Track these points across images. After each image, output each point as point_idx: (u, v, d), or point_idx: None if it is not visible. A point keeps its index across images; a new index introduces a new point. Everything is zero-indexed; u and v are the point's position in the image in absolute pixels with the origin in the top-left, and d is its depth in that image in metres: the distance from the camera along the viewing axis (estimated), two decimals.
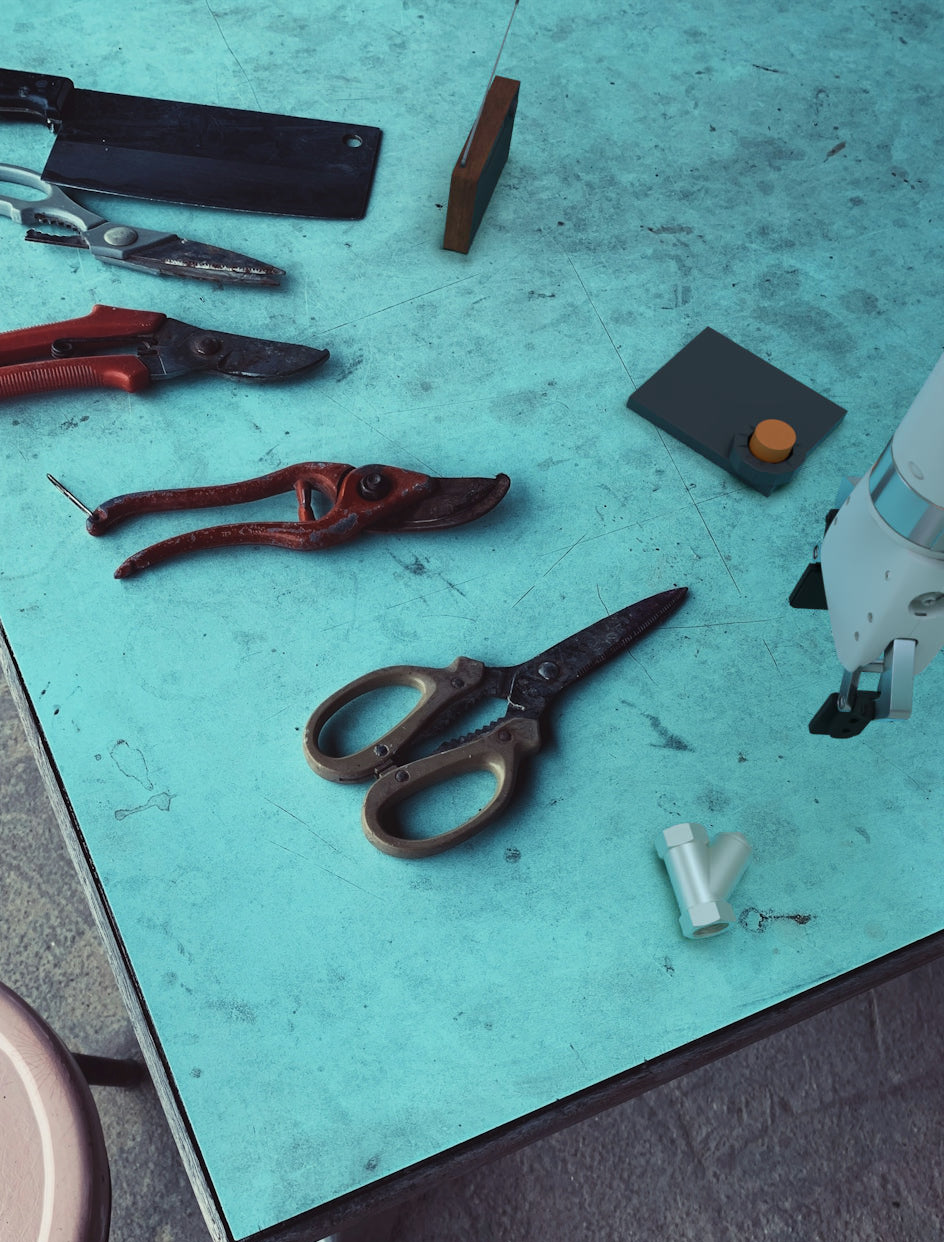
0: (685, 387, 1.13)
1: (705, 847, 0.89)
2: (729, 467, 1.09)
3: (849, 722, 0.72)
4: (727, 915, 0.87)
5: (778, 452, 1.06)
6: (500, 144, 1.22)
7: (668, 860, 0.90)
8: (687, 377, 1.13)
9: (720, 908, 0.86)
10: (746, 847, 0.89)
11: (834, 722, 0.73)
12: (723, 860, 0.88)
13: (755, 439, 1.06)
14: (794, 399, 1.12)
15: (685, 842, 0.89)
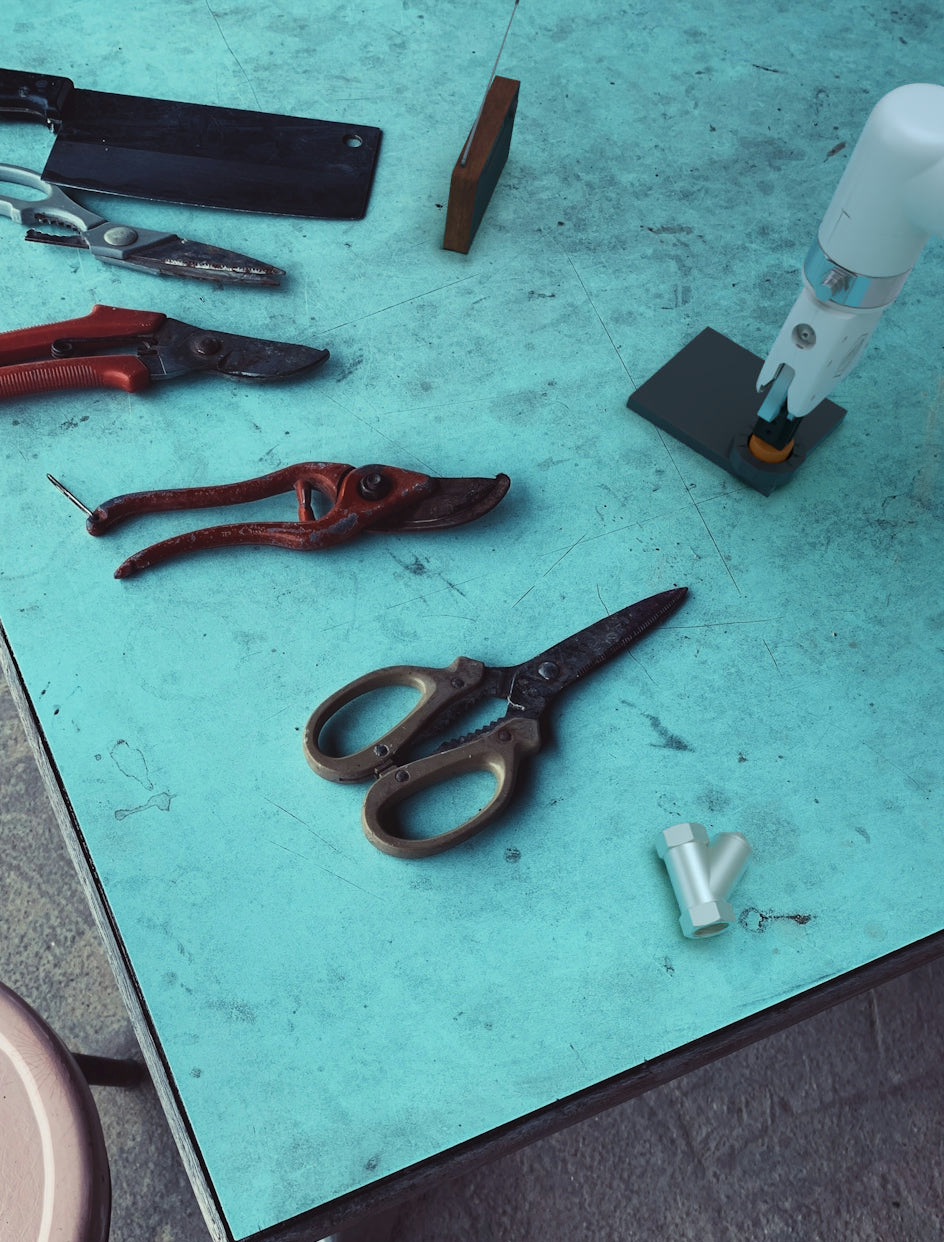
0: (685, 387, 1.13)
1: (705, 847, 0.89)
2: (729, 467, 1.09)
3: (771, 423, 1.04)
4: (727, 915, 0.87)
5: (776, 456, 1.06)
6: (500, 144, 1.22)
7: (668, 860, 0.90)
8: (687, 377, 1.13)
9: (720, 908, 0.86)
10: (746, 846, 0.89)
11: None
12: (723, 860, 0.88)
13: (753, 443, 1.07)
14: None
15: (685, 842, 0.89)
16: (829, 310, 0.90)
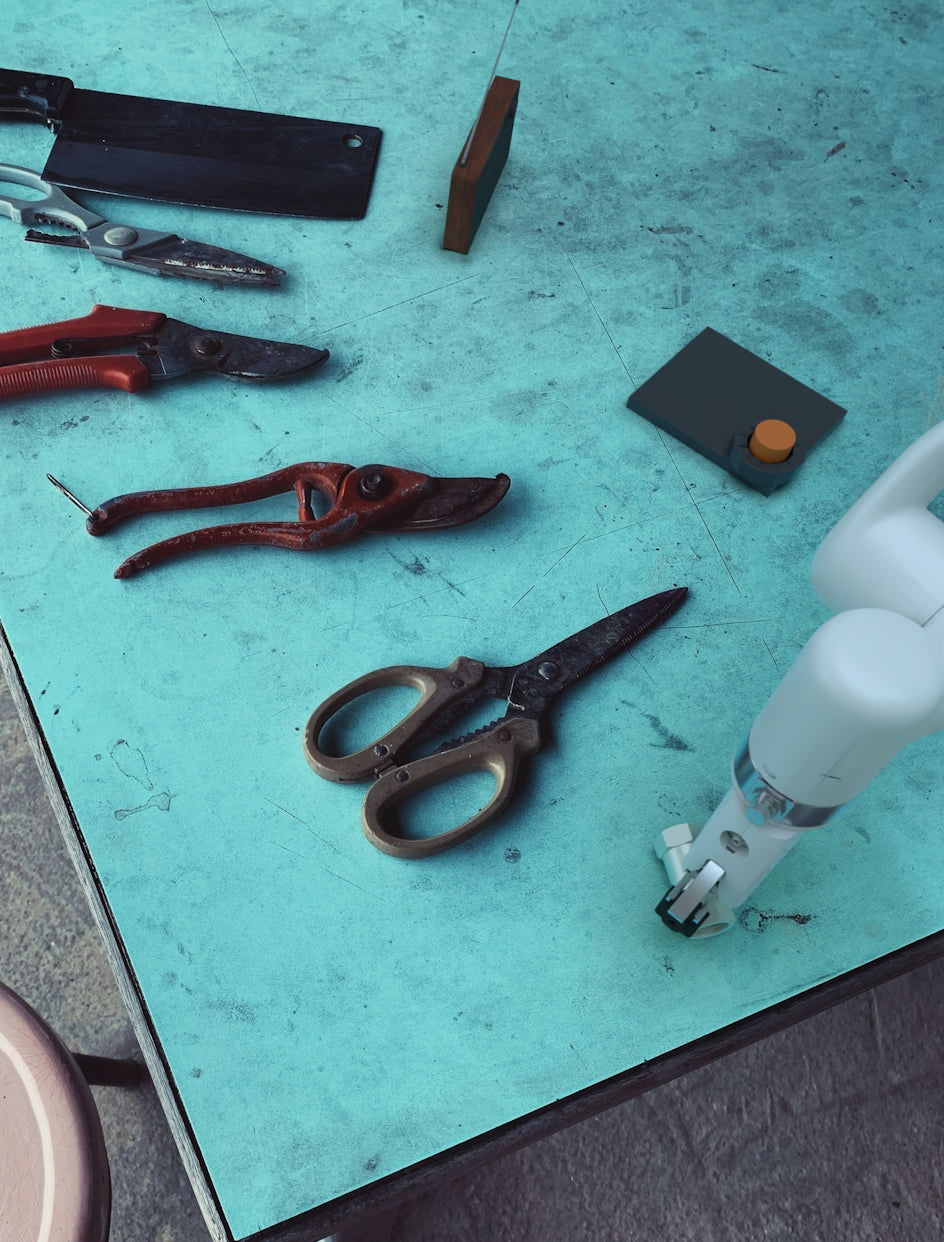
0: (685, 387, 1.13)
1: None
2: (729, 467, 1.09)
3: None
4: (727, 915, 0.87)
5: (778, 452, 1.06)
6: (500, 144, 1.22)
7: (667, 860, 0.90)
8: (687, 377, 1.13)
9: (720, 908, 0.86)
10: None
11: None
12: None
13: (755, 439, 1.06)
14: (794, 399, 1.12)
15: (684, 842, 0.89)
16: (764, 826, 0.73)
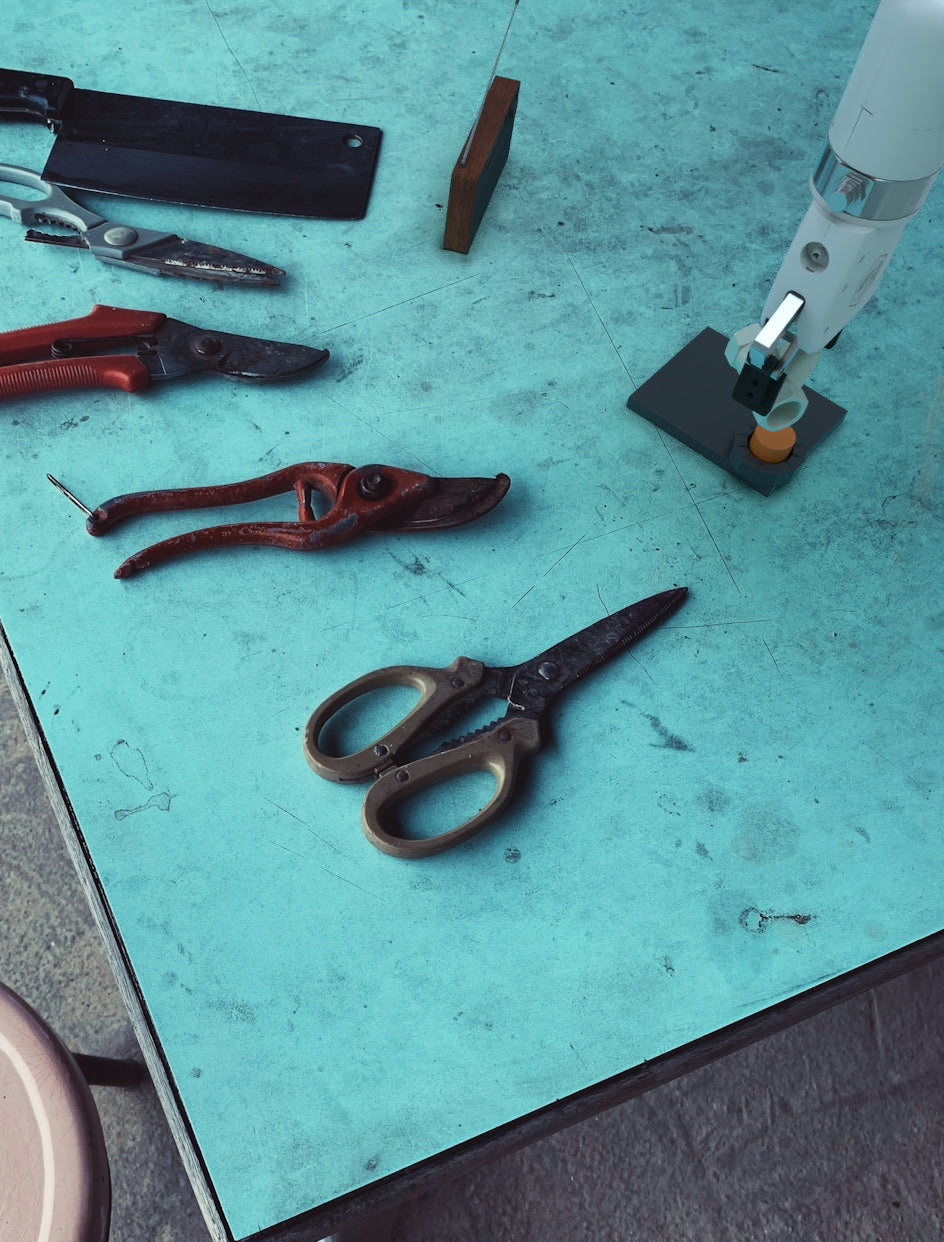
0: (685, 387, 1.13)
1: None
2: (729, 467, 1.09)
3: (753, 384, 0.89)
4: (800, 395, 0.91)
5: (778, 452, 1.06)
6: (500, 144, 1.22)
7: (740, 360, 0.94)
8: (687, 377, 1.13)
9: (793, 388, 0.91)
10: None
11: None
12: None
13: (755, 439, 1.06)
14: None
15: None
16: (843, 224, 0.78)
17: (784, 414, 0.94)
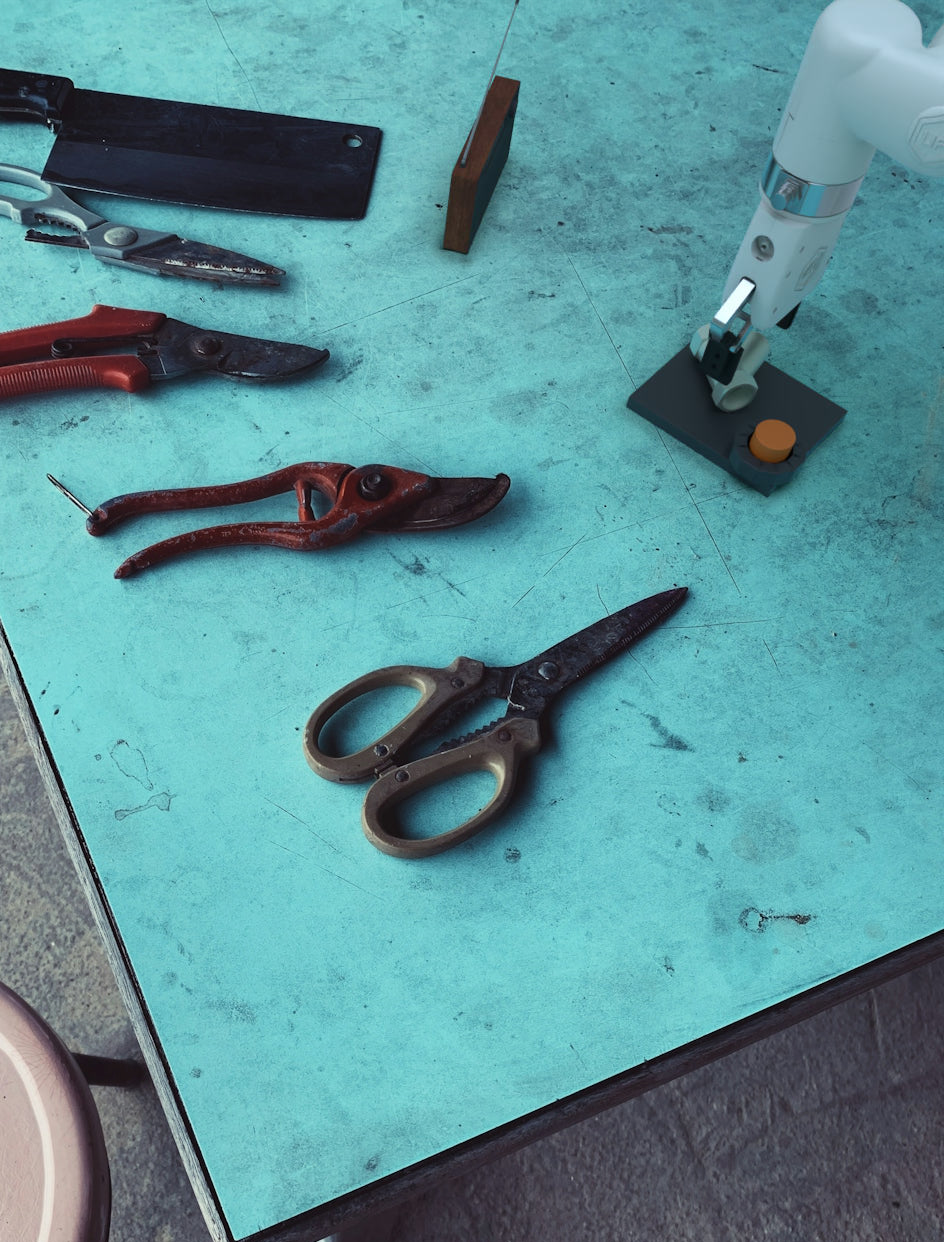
0: (685, 387, 1.13)
1: None
2: (729, 467, 1.09)
3: (715, 357, 1.05)
4: (750, 381, 1.09)
5: (778, 452, 1.06)
6: (500, 144, 1.22)
7: (702, 352, 1.12)
8: (687, 377, 1.13)
9: (745, 375, 1.09)
10: (764, 339, 1.12)
11: None
12: (746, 346, 1.11)
13: (755, 439, 1.06)
14: (794, 399, 1.12)
15: None
16: (785, 220, 0.94)
17: (738, 398, 1.11)
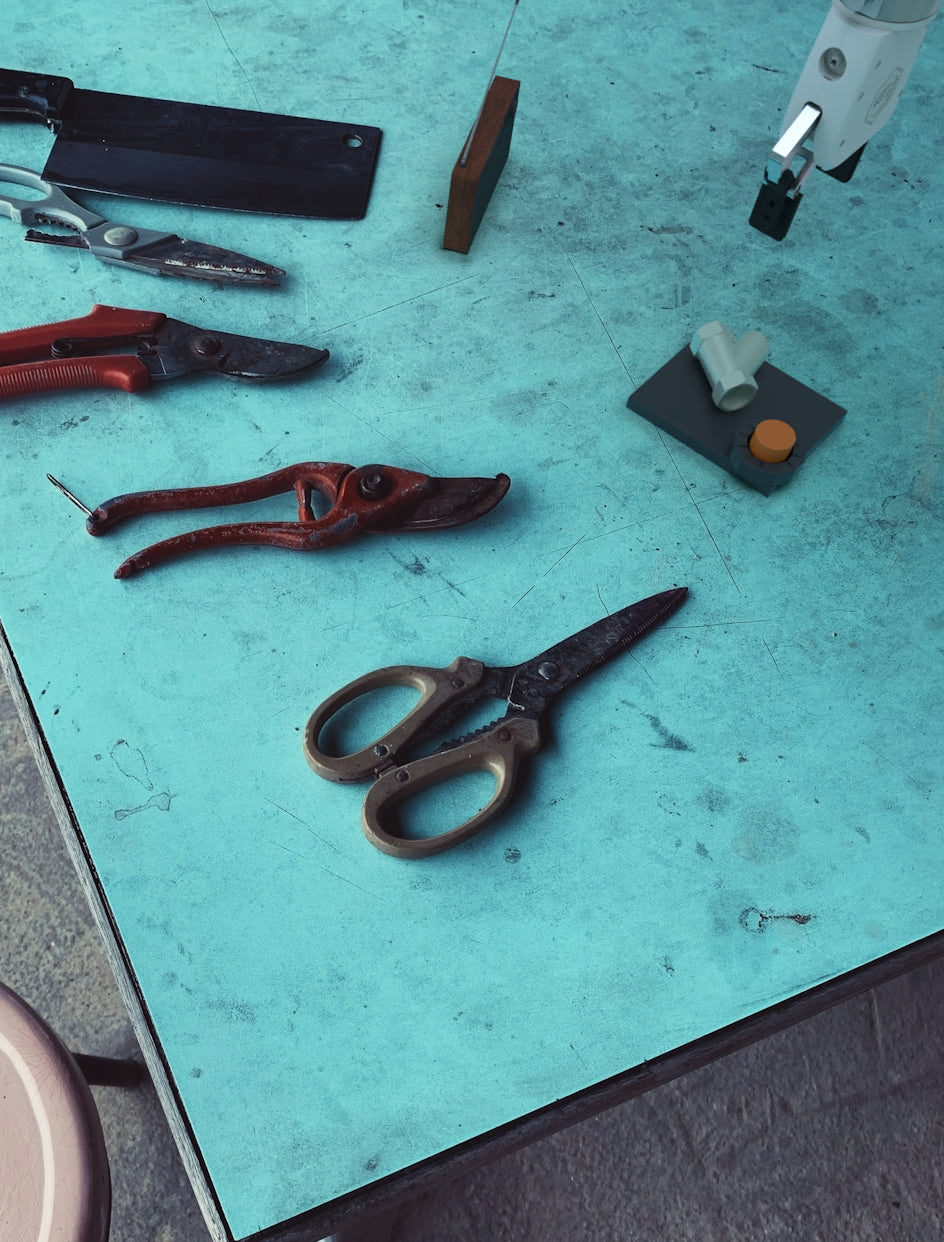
0: (685, 387, 1.13)
1: (731, 339, 1.11)
2: (729, 467, 1.09)
3: (769, 205, 0.92)
4: (751, 381, 1.09)
5: (778, 452, 1.06)
6: (500, 144, 1.22)
7: (702, 352, 1.12)
8: (687, 377, 1.13)
9: (745, 375, 1.09)
10: (764, 339, 1.12)
11: None
12: (746, 346, 1.11)
13: (755, 439, 1.06)
14: (794, 399, 1.12)
15: (715, 334, 1.11)
16: (861, 27, 0.81)
17: (738, 398, 1.11)
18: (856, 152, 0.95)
